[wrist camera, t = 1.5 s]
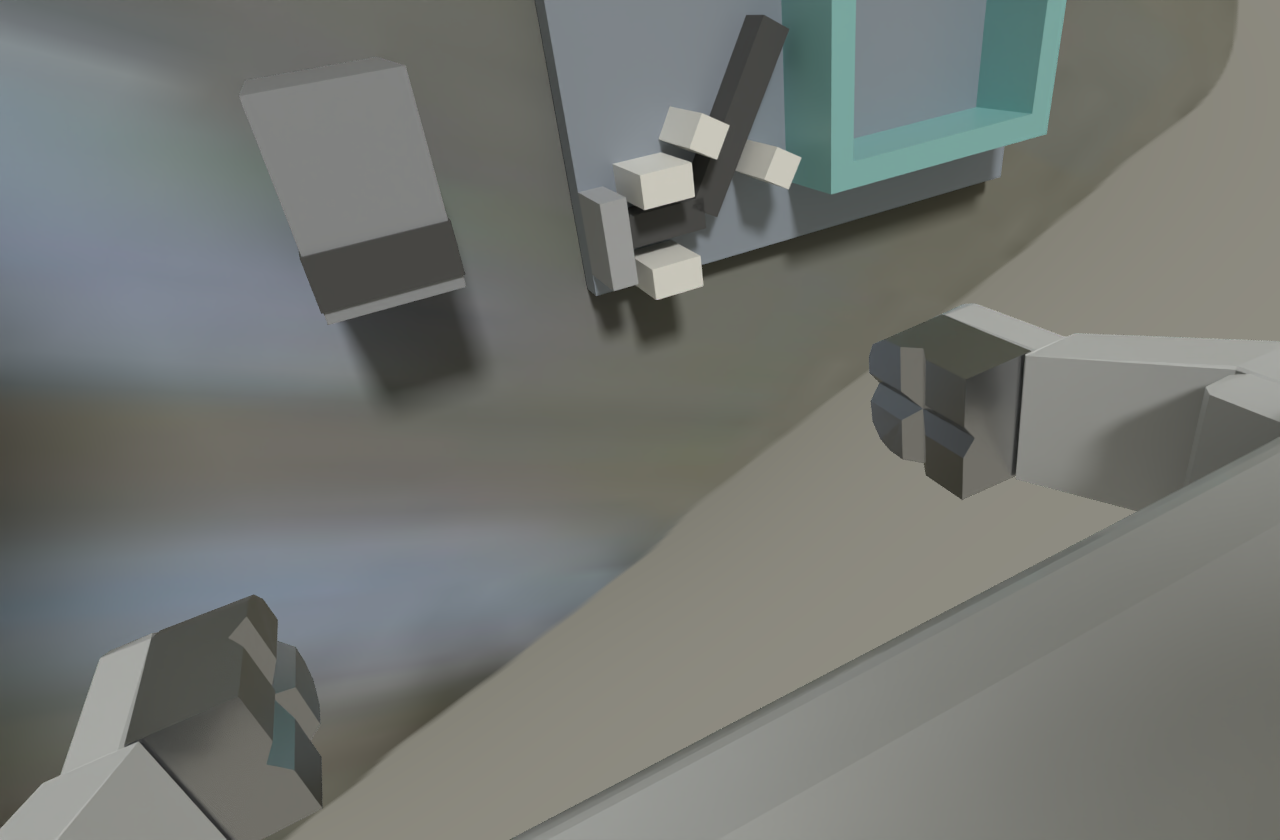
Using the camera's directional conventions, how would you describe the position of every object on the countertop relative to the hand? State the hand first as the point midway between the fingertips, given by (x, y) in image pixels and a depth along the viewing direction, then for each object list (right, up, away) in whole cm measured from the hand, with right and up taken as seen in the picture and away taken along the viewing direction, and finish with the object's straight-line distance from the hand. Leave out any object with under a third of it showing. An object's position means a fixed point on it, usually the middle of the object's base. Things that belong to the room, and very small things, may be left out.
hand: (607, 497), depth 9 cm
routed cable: (+2, +12, +18) cm, 22 cm away
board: (+7, +16, +20) cm, 26 cm away
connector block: (-9, +9, +15) cm, 20 cm away
